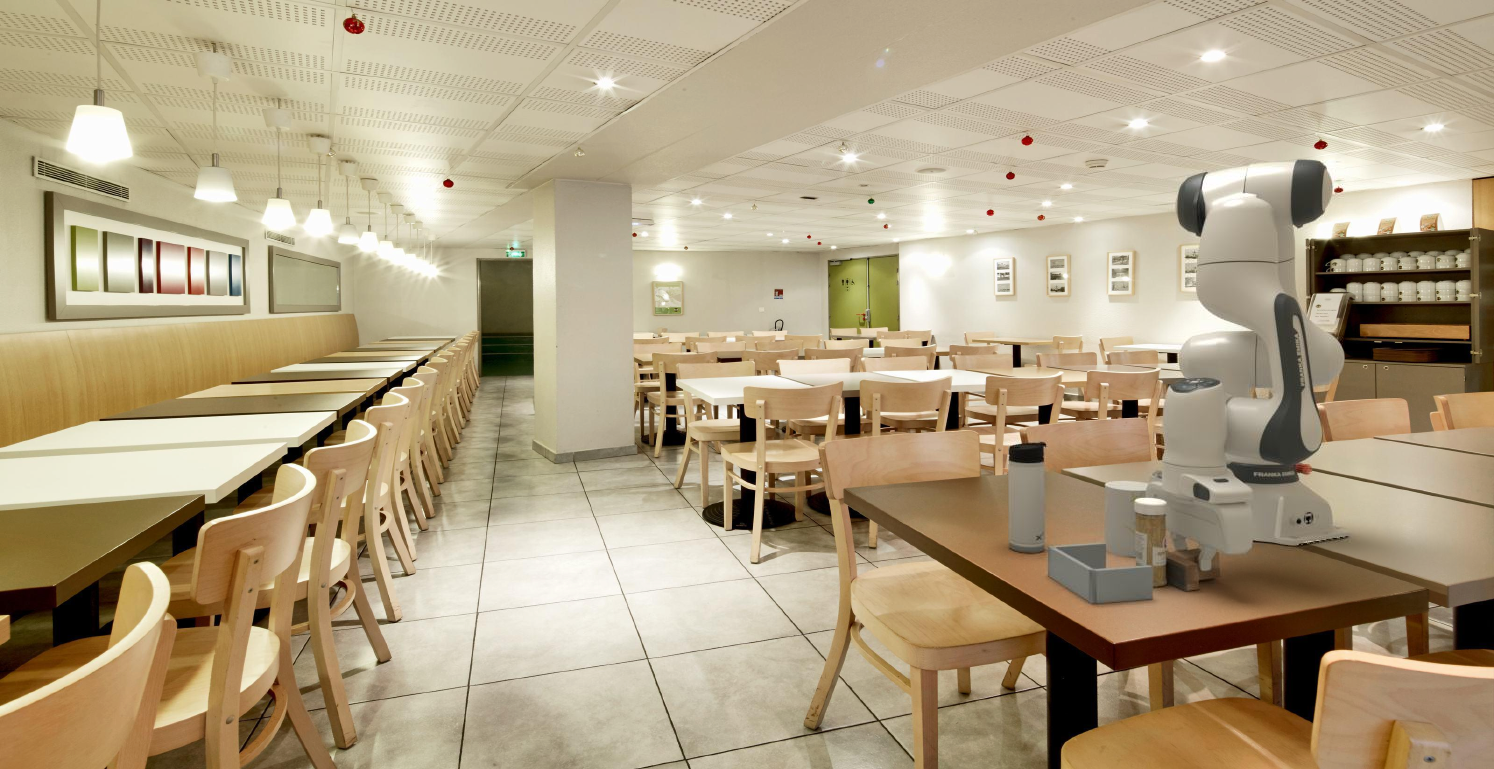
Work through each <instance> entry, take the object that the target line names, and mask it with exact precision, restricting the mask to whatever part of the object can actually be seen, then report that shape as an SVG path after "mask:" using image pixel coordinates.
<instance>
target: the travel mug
mask: <svg viewBox="0 0 1494 769" xmlns="http://www.w3.org/2000/svg"><path fill="white" fill-rule="evenodd" d="M1044 447H1045V448H1047V443H1045V442H1044V441H1039V442H1022V443H1016V444H1012V445H1009V448H1008V461H1007V462H1008V548H1010V549H1011V550H1013V551H1014V552H1018V553H1024V554H1025V553H1026V554H1035V553H1041V552H1043V551H1044V550H1045V549H1046V548H1045V547H1046V544H1045V543H1046V542H1045V539H1046V536H1045V535H1046V533H1045V530H1046V529H1045V528H1046V527H1045V522H1046V521H1045V517H1046V516H1045V515H1046V514H1045V512H1046V510H1045V503H1046V502H1045V500H1046V499H1045V498H1046V497H1045V492H1046V491H1045V490H1046V489H1045V488H1046V487H1045V450H1044V449H1045V448H1044Z"/></svg>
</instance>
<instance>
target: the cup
mask: <svg viewBox="0 0 1494 769" xmlns="http://www.w3.org/2000/svg"><path fill="white" fill-rule="evenodd" d="M1148 484H1149V483H1148V482H1147V483H1146V482H1141V481H1132V480H1113V481H1107V482H1106V483H1105V484H1104V543H1106V552H1108V553H1111V554H1113V555H1117V556H1122V557H1129V558H1130V557H1131V558H1135V529H1136V514H1135V510H1134V503H1135V500H1136V499H1138V498H1145V494H1146V488H1147V486H1148Z"/></svg>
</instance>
